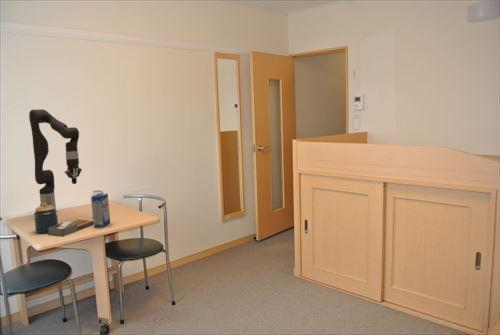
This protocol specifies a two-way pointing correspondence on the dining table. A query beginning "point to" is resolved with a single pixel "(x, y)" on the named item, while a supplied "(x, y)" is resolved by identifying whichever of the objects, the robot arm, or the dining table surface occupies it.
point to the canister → (45, 218)
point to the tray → (61, 230)
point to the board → (83, 224)
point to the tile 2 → (66, 224)
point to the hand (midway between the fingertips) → (74, 183)
